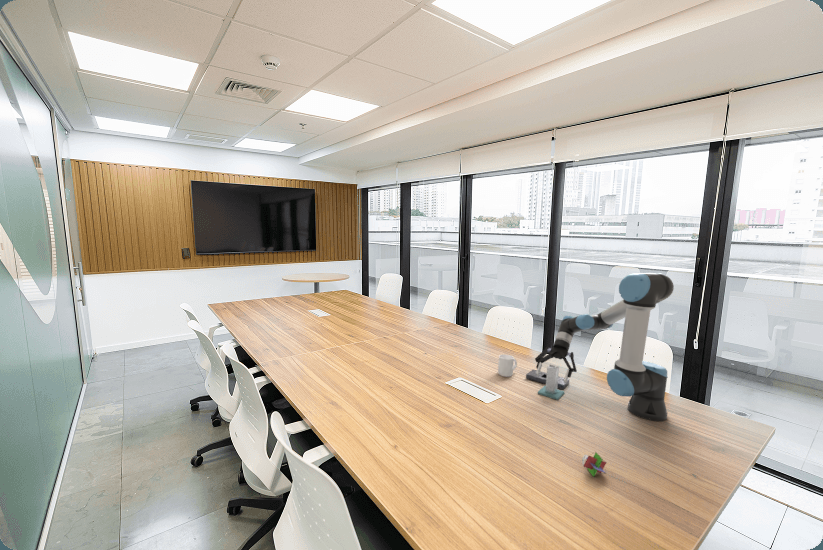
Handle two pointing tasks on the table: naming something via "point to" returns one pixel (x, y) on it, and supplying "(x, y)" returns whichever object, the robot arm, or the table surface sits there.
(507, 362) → the mug
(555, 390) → the steel peg
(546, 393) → the teal mat
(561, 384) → the block
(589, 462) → the geometric puzzle
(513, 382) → the table surface
